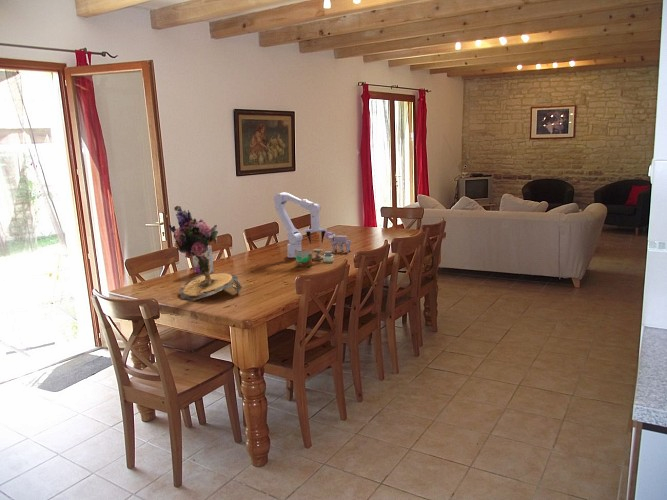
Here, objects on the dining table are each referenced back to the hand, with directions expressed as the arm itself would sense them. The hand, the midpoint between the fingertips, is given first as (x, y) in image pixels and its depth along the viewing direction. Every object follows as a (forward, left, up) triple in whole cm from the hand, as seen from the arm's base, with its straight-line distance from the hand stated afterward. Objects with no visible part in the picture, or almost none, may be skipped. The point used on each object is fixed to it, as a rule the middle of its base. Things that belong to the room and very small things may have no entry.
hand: (316, 242), depth 351 cm
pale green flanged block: (+8, -11, -10) cm, 17 cm away
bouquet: (-52, -77, -10) cm, 93 cm away
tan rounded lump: (+1, -3, -10) cm, 10 cm away
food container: (-8, -24, -10) cm, 27 cm away
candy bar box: (-67, -32, -10) cm, 75 cm away
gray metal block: (+8, -11, -9) cm, 16 cm away
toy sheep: (+13, +20, -10) cm, 26 cm away
